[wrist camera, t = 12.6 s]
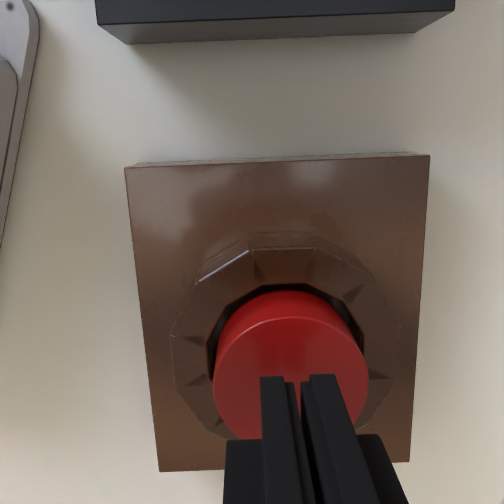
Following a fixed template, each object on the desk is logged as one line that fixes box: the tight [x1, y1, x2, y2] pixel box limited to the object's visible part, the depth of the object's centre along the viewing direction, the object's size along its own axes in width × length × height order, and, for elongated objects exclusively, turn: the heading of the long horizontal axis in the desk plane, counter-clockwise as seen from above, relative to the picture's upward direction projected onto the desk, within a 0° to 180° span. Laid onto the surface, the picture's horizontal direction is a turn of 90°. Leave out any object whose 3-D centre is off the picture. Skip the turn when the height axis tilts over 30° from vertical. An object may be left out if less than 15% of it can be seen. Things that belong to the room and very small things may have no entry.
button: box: [213, 289, 369, 440], centre depth 13 cm, size 4×4×2 cm
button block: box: [124, 152, 430, 472], centre depth 16 cm, size 12×10×4 cm
